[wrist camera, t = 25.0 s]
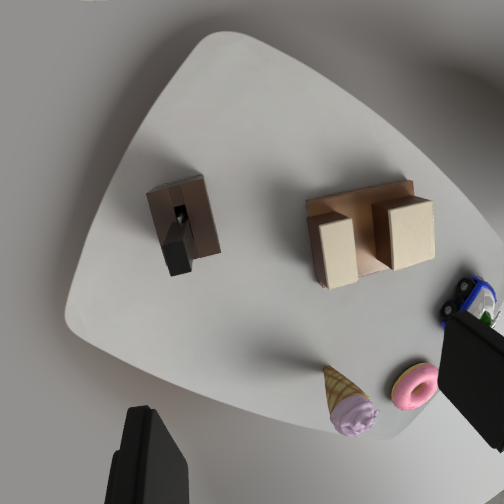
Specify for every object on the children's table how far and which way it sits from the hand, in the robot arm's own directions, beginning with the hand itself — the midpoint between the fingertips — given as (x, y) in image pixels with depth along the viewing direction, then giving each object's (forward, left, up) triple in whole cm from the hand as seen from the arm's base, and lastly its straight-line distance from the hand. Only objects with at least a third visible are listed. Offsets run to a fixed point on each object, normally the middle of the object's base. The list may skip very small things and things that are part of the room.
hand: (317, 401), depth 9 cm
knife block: (-1, -5, -33) cm, 34 cm away
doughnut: (+40, +27, -34) cm, 59 cm away
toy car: (+26, +38, -34) cm, 57 cm away
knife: (-1, -5, -33) cm, 34 cm away
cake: (+7, +22, -32) cm, 39 cm away
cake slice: (+7, +11, -32) cm, 34 cm away
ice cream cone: (+29, +10, -34) cm, 45 cm away
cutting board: (+7, +18, -33) cm, 38 cm away
